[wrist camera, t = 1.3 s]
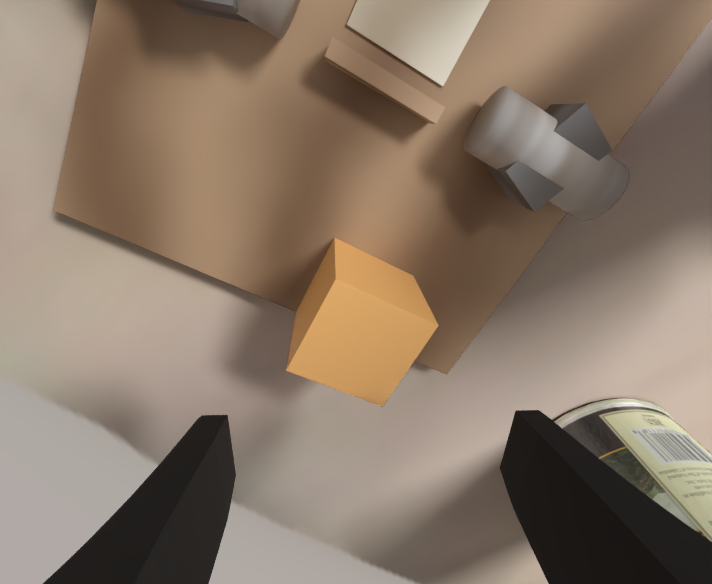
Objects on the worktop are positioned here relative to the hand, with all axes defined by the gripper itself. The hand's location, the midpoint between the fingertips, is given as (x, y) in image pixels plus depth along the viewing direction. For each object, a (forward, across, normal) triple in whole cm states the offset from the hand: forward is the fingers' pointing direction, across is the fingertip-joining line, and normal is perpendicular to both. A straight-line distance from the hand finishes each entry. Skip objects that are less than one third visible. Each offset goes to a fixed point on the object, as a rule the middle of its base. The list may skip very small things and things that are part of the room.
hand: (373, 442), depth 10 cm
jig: (+10, 0, -8) cm, 12 cm away
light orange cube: (+9, 0, 0) cm, 9 cm away
